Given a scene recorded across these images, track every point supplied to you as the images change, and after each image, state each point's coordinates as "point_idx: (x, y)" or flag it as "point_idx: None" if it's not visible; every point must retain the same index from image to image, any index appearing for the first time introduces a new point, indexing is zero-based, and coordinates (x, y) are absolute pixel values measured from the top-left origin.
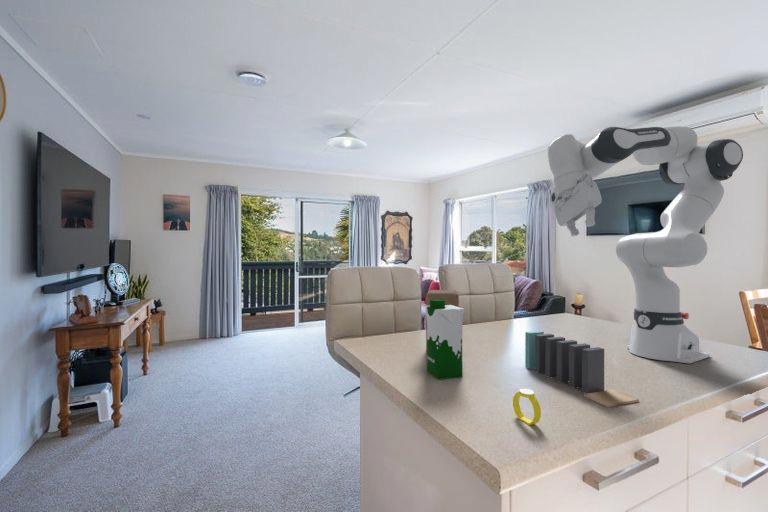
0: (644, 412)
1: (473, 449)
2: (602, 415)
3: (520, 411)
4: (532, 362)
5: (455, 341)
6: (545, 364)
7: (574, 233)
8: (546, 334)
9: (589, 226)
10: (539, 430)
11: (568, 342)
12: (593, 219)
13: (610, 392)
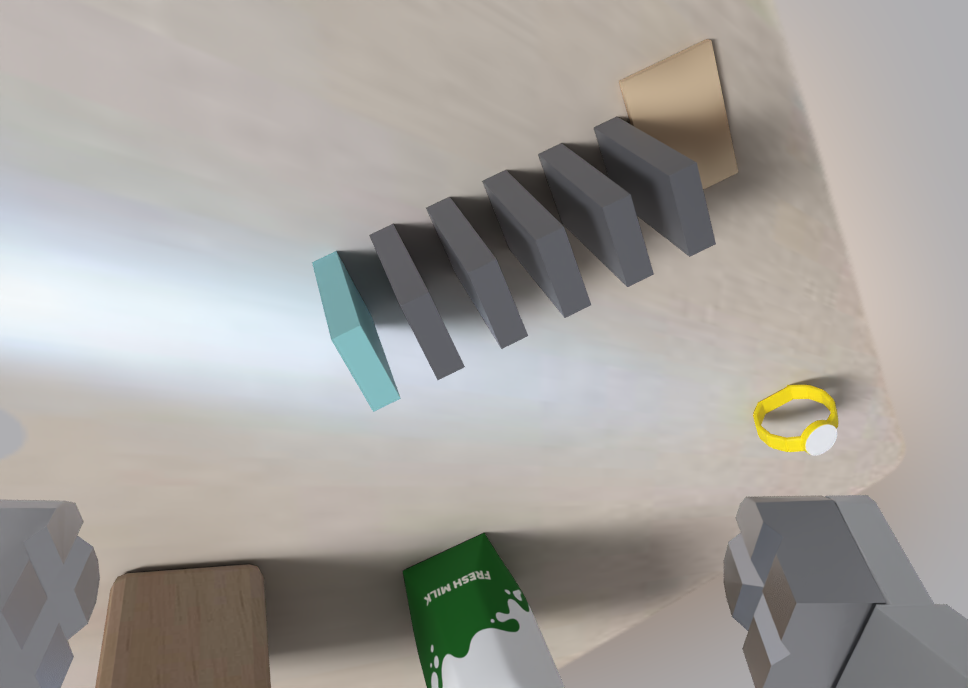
0: (777, 74)
1: None
2: (775, 211)
3: (758, 414)
4: (368, 314)
5: (545, 643)
6: (468, 294)
7: (82, 594)
8: (424, 327)
9: (737, 537)
10: (816, 380)
11: (579, 272)
12: (915, 594)
13: (649, 110)
